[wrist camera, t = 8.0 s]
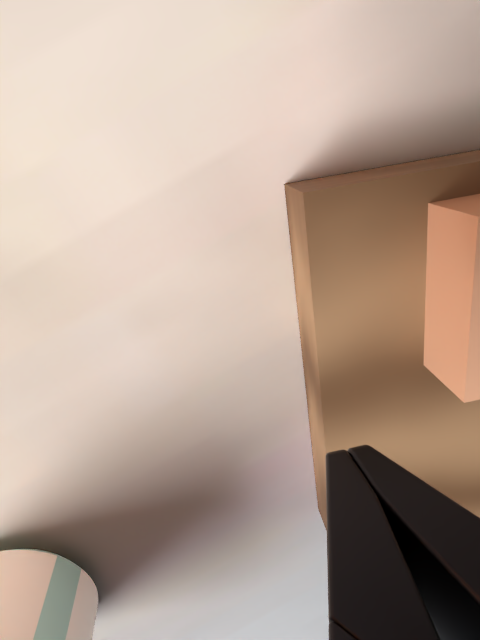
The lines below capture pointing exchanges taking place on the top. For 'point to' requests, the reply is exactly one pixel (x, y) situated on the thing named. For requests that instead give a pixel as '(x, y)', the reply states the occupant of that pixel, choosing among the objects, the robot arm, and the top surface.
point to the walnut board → (379, 322)
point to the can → (45, 597)
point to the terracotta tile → (454, 295)
